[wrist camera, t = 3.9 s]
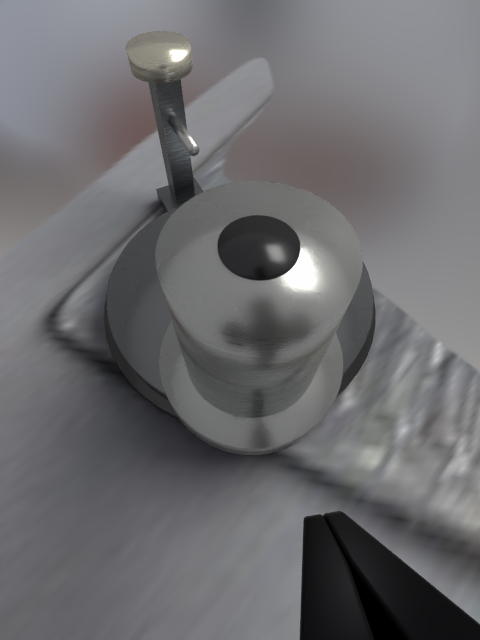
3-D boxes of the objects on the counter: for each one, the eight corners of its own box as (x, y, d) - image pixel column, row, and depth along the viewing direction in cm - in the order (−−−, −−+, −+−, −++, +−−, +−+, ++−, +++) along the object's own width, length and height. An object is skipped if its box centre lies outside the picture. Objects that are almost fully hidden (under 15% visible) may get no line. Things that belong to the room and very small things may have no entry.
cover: (370, 367, 18) (465, 247, 10) (250, 499, 15) (262, 463, 7) (249, 272, 21) (256, 126, 13) (130, 364, 18) (53, 241, 10)
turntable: (424, 302, 22) (438, 285, 20) (236, 507, 16) (236, 504, 14) (242, 180, 28) (242, 159, 26) (56, 297, 22) (42, 279, 20)
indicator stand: (156, 197, 27) (118, 38, 18) (196, 185, 27) (176, 26, 19) (182, 245, 24) (152, 86, 16) (225, 230, 25) (218, 71, 16)
